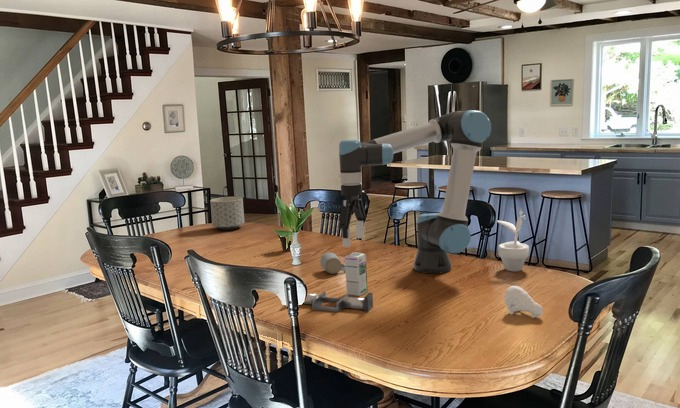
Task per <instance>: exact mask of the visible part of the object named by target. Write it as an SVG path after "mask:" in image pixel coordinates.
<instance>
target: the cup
mask: <svg viewBox="0 0 680 408" xmlns="http://www.w3.org/2000/svg"><path fill="white" fill-rule="evenodd" d="M277 237H278V238H279V241H280V244H281V248H282V252H284V253H287V252H288V253H289V252H291V251H290V245H291V241H289V243H288V248H287V249H286V238H285V237H280V236H279V235H278V234H277Z"/></svg>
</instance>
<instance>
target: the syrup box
mask: <svg viewBox="0 0 680 408" xmlns="http://www.w3.org/2000/svg"><path fill="white" fill-rule="evenodd" d="M366 255H367V254H366V253H363V252H351V253H349V254H348V255H345V256H344V265H345V271H344V272H345V283H346V285H345V286H346V294H349V296H350V295H351V296H358V297H360V296H362V295H364V294H365V293H367V292H368V291H369V290H368V272H367V256H366Z"/></svg>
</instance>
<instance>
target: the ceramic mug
mask: <svg viewBox="0 0 680 408" xmlns="http://www.w3.org/2000/svg"><path fill="white" fill-rule="evenodd" d="M320 266H321V267H322V268H323V270H324V271H326V272H327V273H329V274H331V275H336V274H337V273H339V272H341V271H343V272H346V271H345V264H343V263H342V260H341V259H340V258H339V257H338V256H337V255H336V254H335V252H332V251H331V252H326V253H324V254H323V255H322V256H321V258H320Z"/></svg>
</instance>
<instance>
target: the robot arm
mask: <svg viewBox="0 0 680 408" xmlns="http://www.w3.org/2000/svg"><path fill="white" fill-rule="evenodd" d="M491 132H492V122H491V120H490V118H489V117H488V115H486V113H484V112H482V111H480V110H475V109H474V110H472V109H470V110H456V111H455V110H454V111H451V112H448V113H446V114H444V115H441V116H438V117H436V118H435V117H434V118H432V119H430V120H428V122H426V123H425V124H421V125H418V126H417V125H416V126H414V127H411V128H407V129H404V130H400V131H398V132H392V133H390V134H387V135H384V136H381V137H378V138H374V139H372V140H371V139H370V140H367V141H363V142H361V141H360V140H359V139H347V140H345V139H344V140H341V141H340V142H339V145H338V151H339V152H338V156H339V157H338V159H339V170H340V171H339V177H340V183H341V185H340V193H341V194H340V195H341V196H343V197H345V199H342V200H341V207H340V217H339V223H338V229H339V230H341V237H342V248H351V247H352V245H351V228H350V224H351V221H352V220H351V219H352V217H353V216H352V215H353V213H354V216H355V218H356V220H355V229H356V230H355V231H356V235H355V236H356V239H365V228H364V226H365V225H364V221H366V220H367V217H366V212H365V206H364V203H363V196H362V194H363V185H362V182H363V181H362V180H363V177H362V167H365V166H366V167H367V166H368V167H370V166H384V165H390V164H391V163H392V162H393V160H394V154H397V153H400V152H404V151H407V150H411V149H413V148H416V147H420V146H423V145H427V144H429V143H432V142H433V143H436V144H438V143H442V142H448V141H450V145H451V147H452V149H453V151H452V156H451V163H450V167H449V173H448V179H447V183H446V184H447V185H446V190H445V196H444V201H443V206H442V210H441V211H440V212H433V213H423V214H420V215H418V216H417V219H416V228H417V229H416V230H417V231H416V235H417V252H416V256H415V259H414V261H413V262H414V263H413V269H414V270H415V271H416V272H418V273H421V274H432V275H434V274H444V273H448V272H450V271H451V270H452V262H451V259H450V256H449V253H450V254H459V253H461V252H463V251H464V250H466V249H467V247H468V246H469V244H470V242H471V237H472V234H471V231H470V229H469V227H468V221H469V219H468V217H467V216H466V211H467V205H468V200H469V195H470V191H471V185H472V179H473V173H474V168H475V163H476V158H477V153H478V152H479V151H480V150H481V149H482V147H483V143H484V142H485V141H486V140H487V139H488V138H489V137H490V135H491Z"/></svg>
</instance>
